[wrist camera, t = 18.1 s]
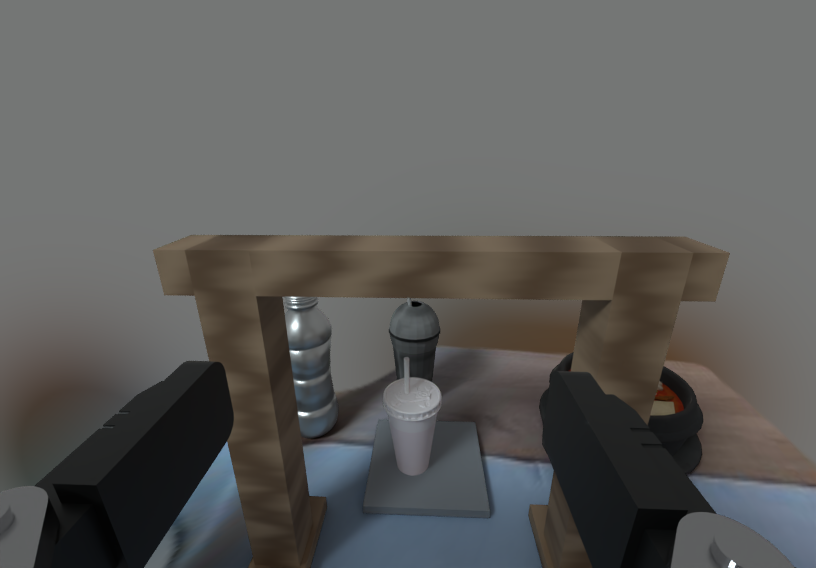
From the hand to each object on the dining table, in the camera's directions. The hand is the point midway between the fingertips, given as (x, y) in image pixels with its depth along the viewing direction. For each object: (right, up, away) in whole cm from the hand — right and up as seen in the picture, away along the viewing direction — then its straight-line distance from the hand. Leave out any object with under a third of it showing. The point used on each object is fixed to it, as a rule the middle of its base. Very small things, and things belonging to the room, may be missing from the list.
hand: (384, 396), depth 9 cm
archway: (+2, -23, +25) cm, 34 cm away
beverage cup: (+2, -15, +48) cm, 50 cm away
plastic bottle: (-12, -17, +42) cm, 47 cm away
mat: (+3, -19, +36) cm, 40 cm away
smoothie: (+1, -18, +35) cm, 39 cm away
